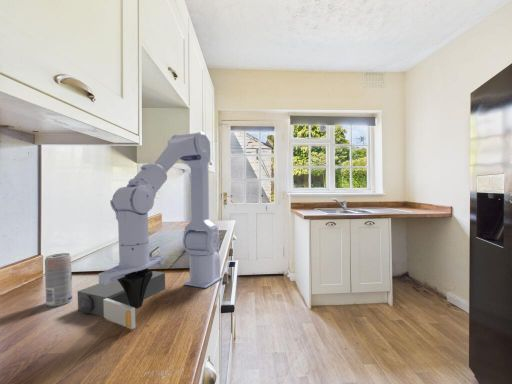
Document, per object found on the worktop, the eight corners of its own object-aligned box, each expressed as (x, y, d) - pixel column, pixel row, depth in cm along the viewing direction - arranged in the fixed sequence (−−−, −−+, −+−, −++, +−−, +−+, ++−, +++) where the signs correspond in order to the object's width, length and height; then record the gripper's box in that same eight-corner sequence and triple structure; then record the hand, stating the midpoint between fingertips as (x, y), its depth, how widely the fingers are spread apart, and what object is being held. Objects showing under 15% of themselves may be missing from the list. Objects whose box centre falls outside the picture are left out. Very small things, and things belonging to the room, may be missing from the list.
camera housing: (139, 284, 79) (139, 269, 79) (165, 288, 75) (165, 273, 75) (73, 311, 62) (73, 292, 62) (103, 319, 58) (102, 299, 58)
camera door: (135, 327, 53) (134, 307, 53) (129, 330, 52) (128, 310, 52) (107, 316, 58) (107, 298, 58) (101, 318, 57) (100, 300, 57)
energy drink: (68, 296, 71) (67, 252, 71) (75, 301, 68) (73, 254, 67) (43, 303, 67) (41, 256, 67) (49, 309, 64) (47, 259, 63)
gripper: (148, 235, 64) (149, 291, 64) (87, 249, 51) (90, 318, 51) (170, 237, 61) (171, 296, 61) (111, 252, 48) (114, 326, 48)
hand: (136, 306), depth 56 cm, fingers closed
